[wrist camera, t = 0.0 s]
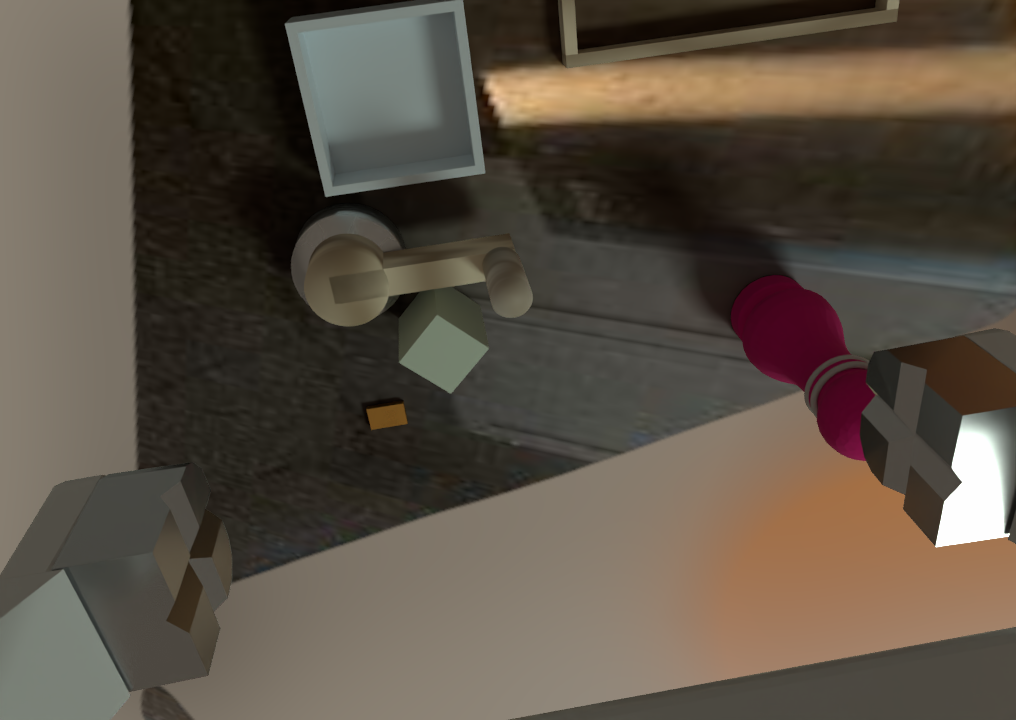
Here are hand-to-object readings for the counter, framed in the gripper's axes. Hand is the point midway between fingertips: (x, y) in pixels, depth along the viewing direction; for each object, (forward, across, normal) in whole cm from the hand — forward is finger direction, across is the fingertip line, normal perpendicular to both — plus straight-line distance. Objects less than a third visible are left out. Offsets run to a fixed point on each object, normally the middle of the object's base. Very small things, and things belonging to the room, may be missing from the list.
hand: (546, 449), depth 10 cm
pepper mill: (+48, -24, +25) cm, 59 cm away
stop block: (+48, +2, +21) cm, 52 cm away
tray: (+48, +3, +4) cm, 48 cm away
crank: (+45, +4, +15) cm, 48 cm away
